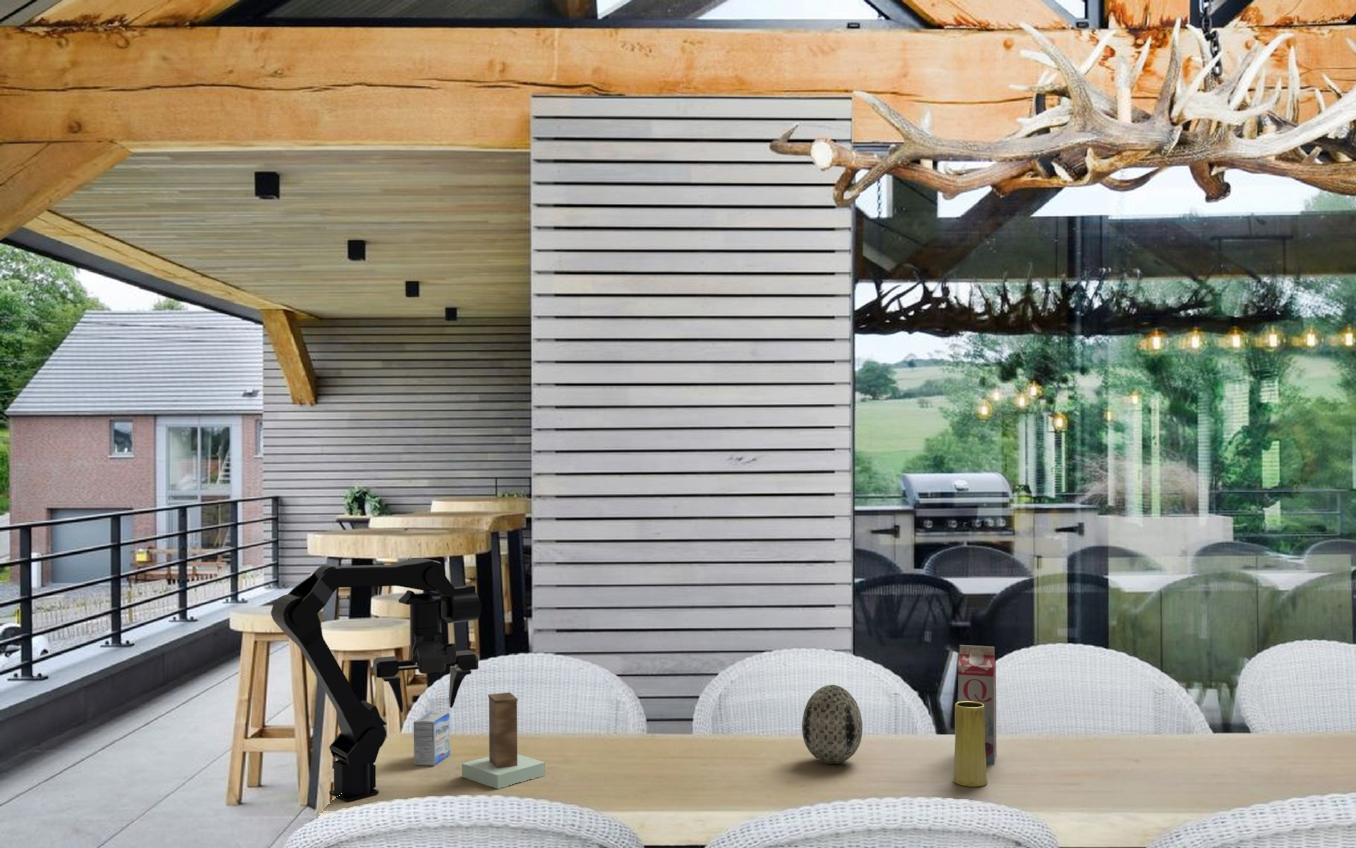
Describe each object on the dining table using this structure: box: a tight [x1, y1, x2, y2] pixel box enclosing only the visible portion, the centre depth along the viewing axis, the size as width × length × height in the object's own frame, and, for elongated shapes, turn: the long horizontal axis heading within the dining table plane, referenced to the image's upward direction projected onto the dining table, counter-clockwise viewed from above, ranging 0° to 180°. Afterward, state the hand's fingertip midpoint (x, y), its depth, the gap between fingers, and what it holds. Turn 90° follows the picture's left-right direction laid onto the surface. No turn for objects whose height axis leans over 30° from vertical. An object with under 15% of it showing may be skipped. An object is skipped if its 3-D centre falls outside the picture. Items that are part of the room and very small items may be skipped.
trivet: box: [461, 753, 546, 790], centre depth 220 cm, size 11×11×2 cm
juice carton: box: [957, 644, 997, 765], centre depth 230 cm, size 7×7×22 cm
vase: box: [952, 701, 988, 788], centre depth 214 cm, size 6×6×14 cm
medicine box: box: [413, 711, 451, 767], centre depth 231 cm, size 8×4×9 cm, turn 168°
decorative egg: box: [801, 684, 864, 765], centre depth 227 cm, size 12×12×15 cm
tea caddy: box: [487, 692, 519, 768], centre depth 220 cm, size 4×6×12 cm
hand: (426, 709), depth 218 cm, fingers open, 9 cm apart
